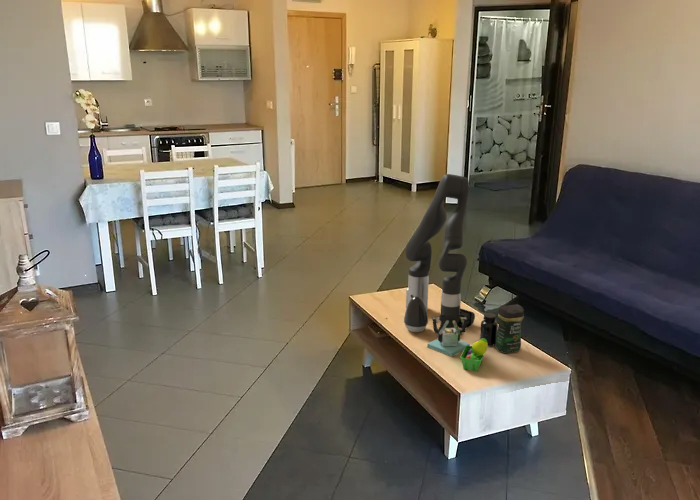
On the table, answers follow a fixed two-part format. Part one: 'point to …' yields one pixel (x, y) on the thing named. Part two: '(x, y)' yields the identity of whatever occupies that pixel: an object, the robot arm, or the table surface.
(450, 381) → the table surface
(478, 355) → the fruit basket
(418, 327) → the dark grey rounded cone
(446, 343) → the collar
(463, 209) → the robot arm
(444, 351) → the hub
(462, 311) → the end cap
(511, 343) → the coffee jar
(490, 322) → the supplement bottle
